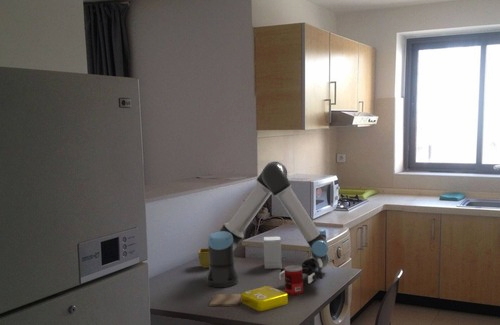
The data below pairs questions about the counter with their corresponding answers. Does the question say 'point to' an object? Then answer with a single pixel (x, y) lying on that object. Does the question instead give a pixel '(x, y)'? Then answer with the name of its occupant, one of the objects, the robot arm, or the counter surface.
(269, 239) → the supplement box
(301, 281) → the canned food
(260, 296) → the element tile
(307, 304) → the counter surface
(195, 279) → the counter surface
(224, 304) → the walnut trivet
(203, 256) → the flower pot
